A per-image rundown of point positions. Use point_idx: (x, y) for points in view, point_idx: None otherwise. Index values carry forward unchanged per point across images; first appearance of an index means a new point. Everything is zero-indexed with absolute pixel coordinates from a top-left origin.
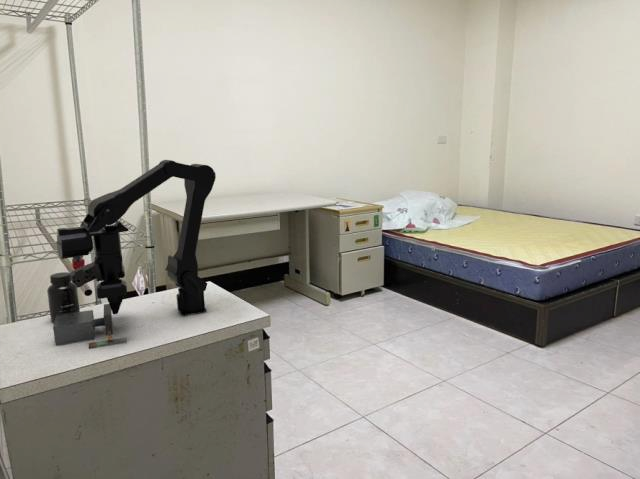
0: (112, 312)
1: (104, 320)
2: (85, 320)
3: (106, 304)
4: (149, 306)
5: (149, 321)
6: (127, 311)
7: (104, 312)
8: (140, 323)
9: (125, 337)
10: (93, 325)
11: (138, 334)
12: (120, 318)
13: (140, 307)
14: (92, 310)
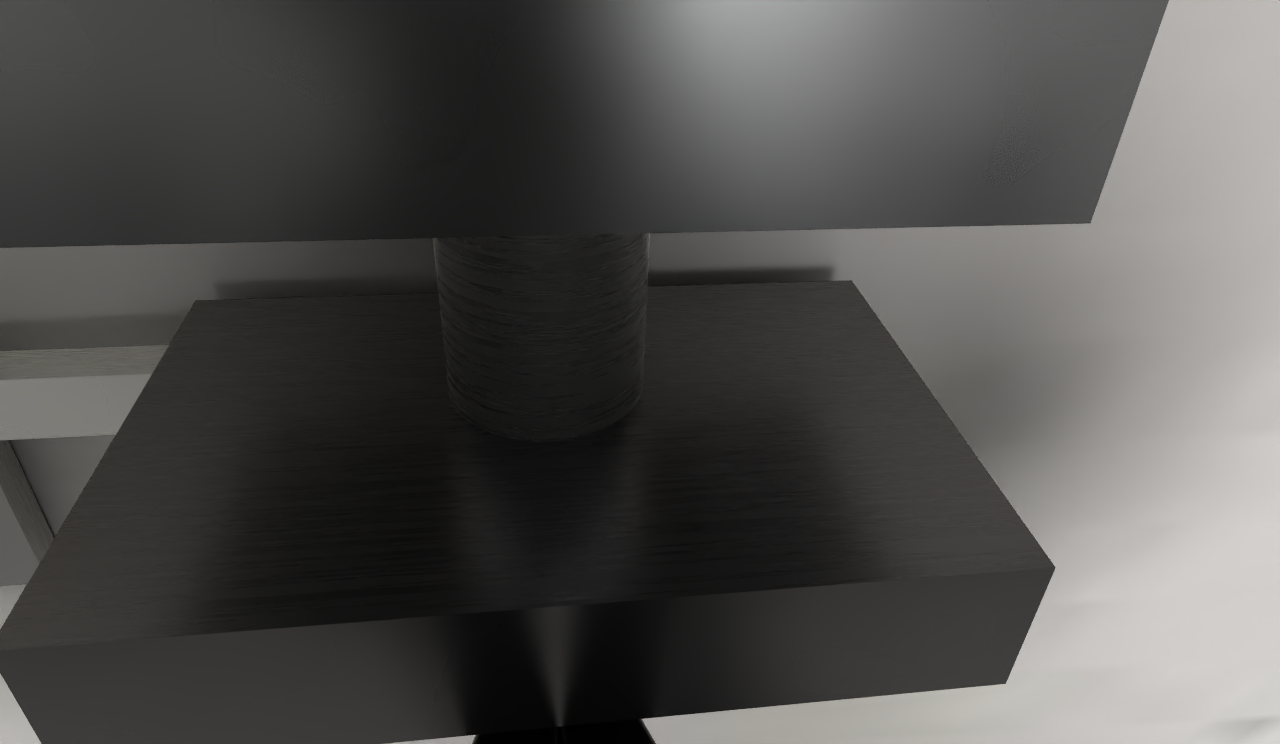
0: None
1: (69, 531)
2: (54, 12)
3: (1003, 620)
4: (1160, 703)
5: (654, 730)
6: (1206, 513)
7: (305, 641)
8: None
9: (31, 571)
10: None
11: None
12: (999, 445)
13: (1213, 631)
14: (1036, 216)
